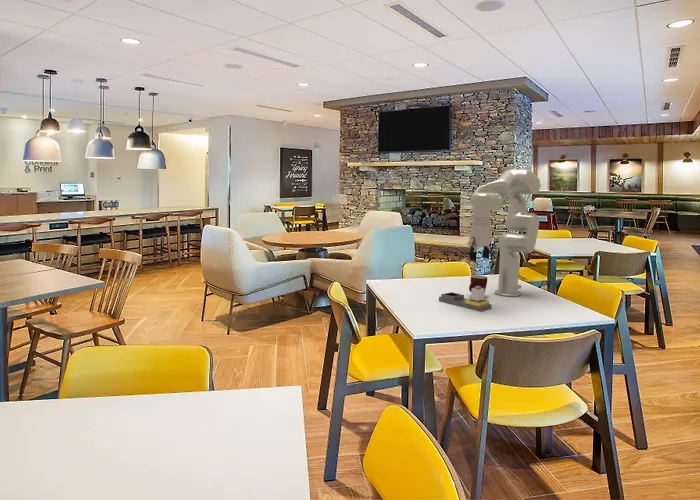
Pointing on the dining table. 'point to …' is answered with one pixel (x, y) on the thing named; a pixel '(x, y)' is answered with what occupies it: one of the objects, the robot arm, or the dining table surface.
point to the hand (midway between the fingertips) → (479, 259)
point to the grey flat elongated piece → (464, 302)
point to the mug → (478, 282)
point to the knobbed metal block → (477, 294)
